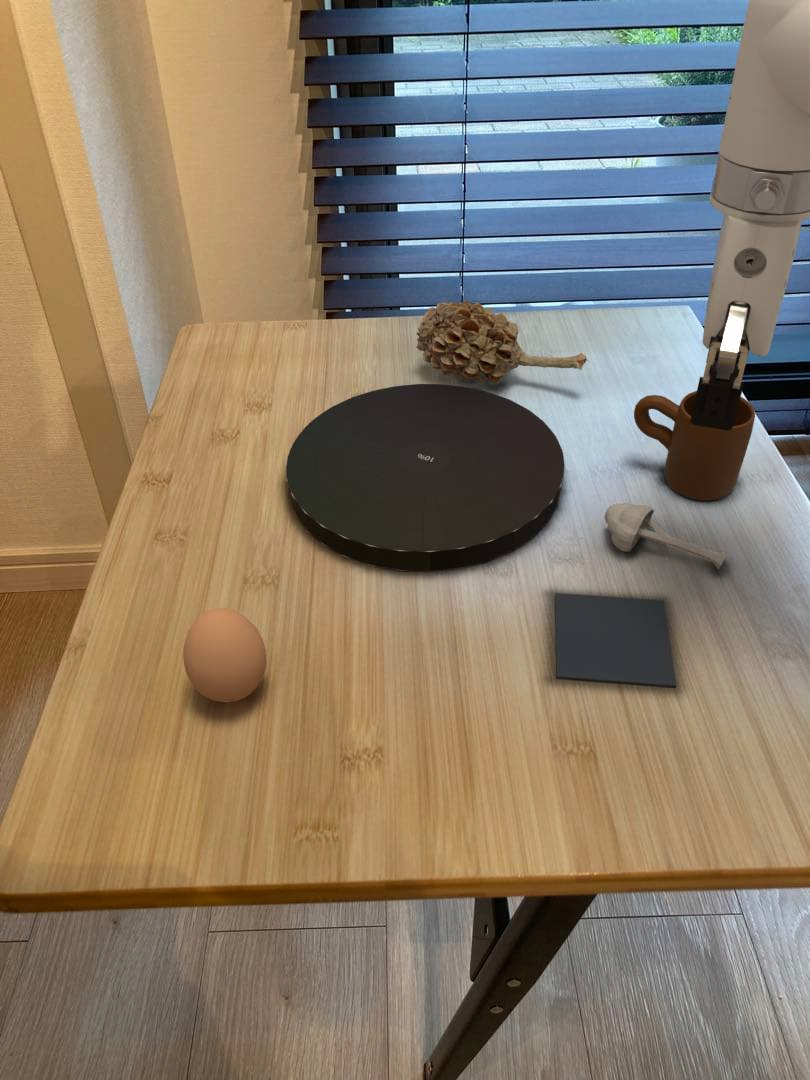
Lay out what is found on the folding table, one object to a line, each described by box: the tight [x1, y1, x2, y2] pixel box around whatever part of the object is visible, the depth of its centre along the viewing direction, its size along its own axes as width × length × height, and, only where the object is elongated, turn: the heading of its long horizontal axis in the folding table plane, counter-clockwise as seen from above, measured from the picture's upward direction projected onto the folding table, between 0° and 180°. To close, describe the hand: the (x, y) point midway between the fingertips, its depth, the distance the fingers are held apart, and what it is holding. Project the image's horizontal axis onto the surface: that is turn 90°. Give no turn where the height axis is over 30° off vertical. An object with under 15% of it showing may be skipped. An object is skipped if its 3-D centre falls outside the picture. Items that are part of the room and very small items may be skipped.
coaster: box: [554, 592, 677, 688], centre depth 75 cm, size 10×10×1 cm
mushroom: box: [604, 502, 727, 570], centre depth 83 cm, size 7×5×12 cm
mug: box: [633, 390, 756, 501], centre depth 90 cm, size 12×8×9 cm, turn 63°
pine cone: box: [415, 300, 591, 386], centre depth 104 cm, size 22×10×10 cm, turn 74°
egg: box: [182, 607, 267, 703], centre depth 69 cm, size 7×7×9 cm
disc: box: [285, 383, 566, 572], centre depth 92 cm, size 30×30×3 cm
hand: (718, 394), depth 70 cm, fingers open, 9 cm apart
